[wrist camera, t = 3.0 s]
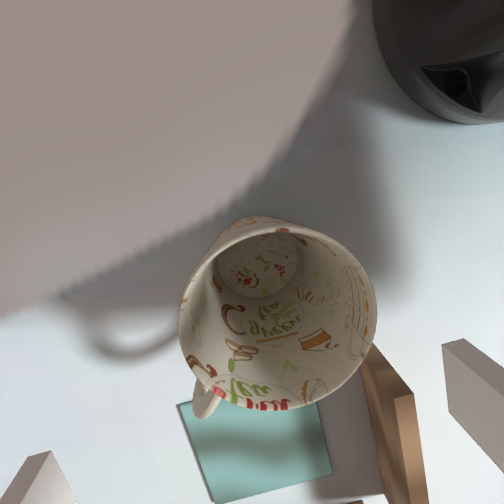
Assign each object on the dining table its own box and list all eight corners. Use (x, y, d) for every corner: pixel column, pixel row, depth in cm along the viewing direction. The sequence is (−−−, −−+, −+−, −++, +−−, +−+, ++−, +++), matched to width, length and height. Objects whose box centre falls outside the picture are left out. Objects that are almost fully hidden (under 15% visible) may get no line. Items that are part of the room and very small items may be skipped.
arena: (150, 400, 26) (129, 469, 20) (372, 341, 26) (413, 393, 21) (209, 552, 31) (206, 643, 25) (399, 500, 31) (439, 580, 25)
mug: (338, 230, 24) (416, 280, 14) (256, 377, 26) (275, 504, 17) (228, 175, 22) (231, 189, 13) (152, 337, 25) (107, 450, 15)
